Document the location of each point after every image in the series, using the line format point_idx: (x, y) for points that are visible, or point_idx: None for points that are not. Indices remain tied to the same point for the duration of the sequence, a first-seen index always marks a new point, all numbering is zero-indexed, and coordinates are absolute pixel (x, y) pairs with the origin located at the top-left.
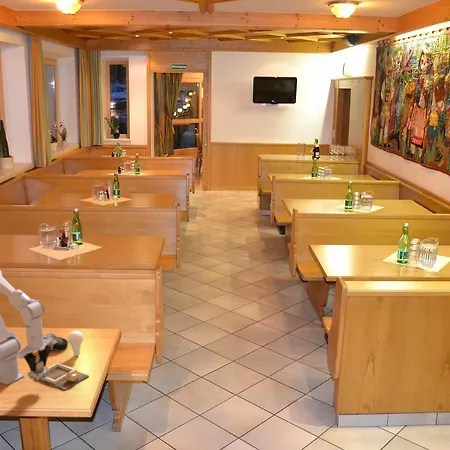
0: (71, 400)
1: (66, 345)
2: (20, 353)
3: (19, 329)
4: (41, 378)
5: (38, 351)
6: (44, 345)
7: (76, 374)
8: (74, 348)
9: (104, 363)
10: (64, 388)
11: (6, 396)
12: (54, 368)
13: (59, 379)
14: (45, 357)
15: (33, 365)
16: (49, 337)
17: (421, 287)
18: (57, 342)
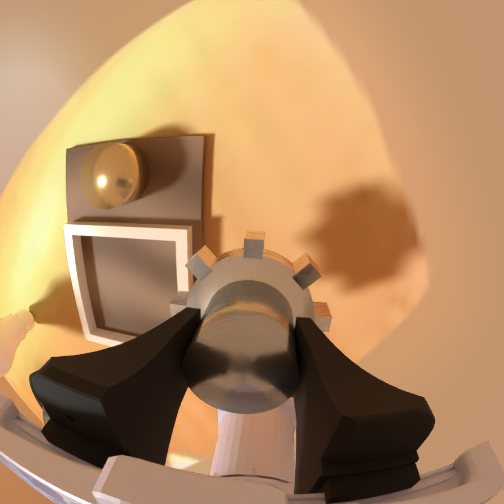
0: (259, 44)
1: (36, 372)
2: (498, 492)
3: None
4: None
5: (164, 451)
6: (78, 496)
7: (92, 157)
8: (16, 330)
9: (5, 189)
10: (196, 145)
11: (370, 343)
12: (110, 330)
13: (155, 227)
14: (157, 347)
15: (337, 350)
16: None
17: None
18: None
